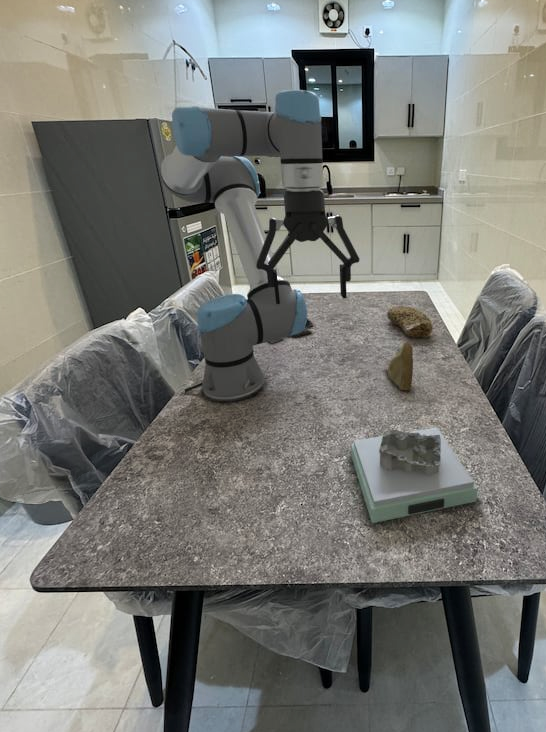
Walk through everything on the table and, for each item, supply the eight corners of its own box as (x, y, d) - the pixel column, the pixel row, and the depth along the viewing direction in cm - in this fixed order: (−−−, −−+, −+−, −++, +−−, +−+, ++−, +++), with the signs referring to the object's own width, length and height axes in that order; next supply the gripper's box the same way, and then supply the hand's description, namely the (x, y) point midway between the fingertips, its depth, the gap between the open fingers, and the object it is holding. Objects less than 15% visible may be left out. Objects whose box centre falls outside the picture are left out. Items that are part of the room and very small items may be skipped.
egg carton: (376, 470, 66) (375, 451, 64) (384, 442, 72) (384, 424, 71) (439, 480, 63) (440, 460, 62) (441, 450, 70) (442, 432, 68)
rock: (421, 386, 93) (427, 363, 101) (400, 361, 91) (408, 339, 99) (387, 401, 99) (395, 378, 107) (366, 378, 97) (377, 356, 105)
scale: (372, 525, 60) (372, 506, 59) (351, 455, 75) (350, 439, 73) (477, 503, 64) (479, 485, 62) (437, 441, 78) (438, 425, 77)
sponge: (436, 341, 126) (420, 309, 142) (435, 322, 122) (419, 291, 138) (397, 349, 126) (386, 317, 142) (394, 330, 122) (383, 299, 138)
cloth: (264, 319, 144) (262, 303, 141) (314, 317, 144) (313, 302, 142) (252, 344, 123) (250, 326, 121) (310, 342, 124) (309, 324, 121)
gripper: (232, 192, 65) (248, 310, 73) (374, 188, 70) (374, 299, 78) (234, 190, 72) (249, 298, 80) (364, 187, 77) (365, 289, 85)
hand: (311, 299), depth 79 cm, fingers open, 13 cm apart
